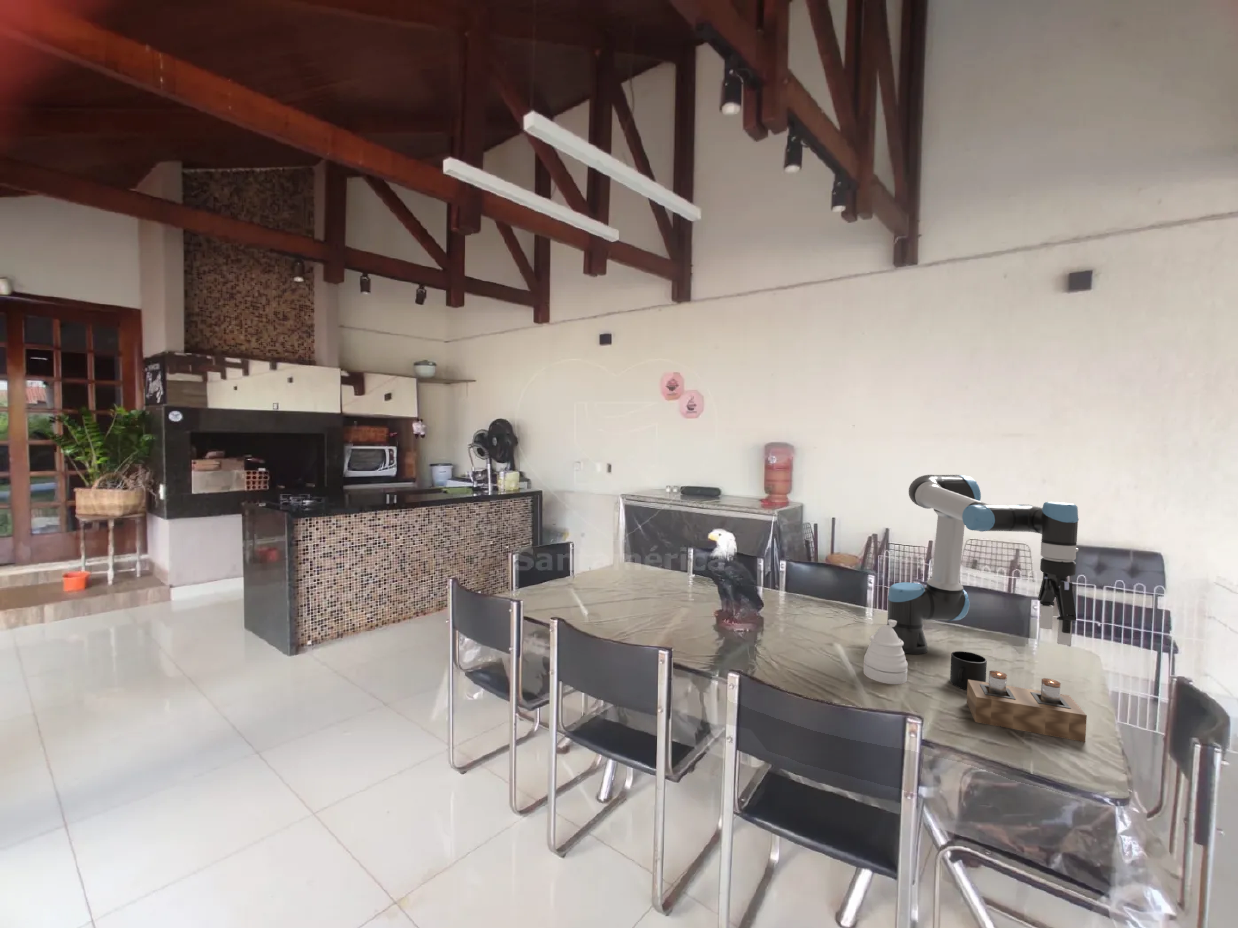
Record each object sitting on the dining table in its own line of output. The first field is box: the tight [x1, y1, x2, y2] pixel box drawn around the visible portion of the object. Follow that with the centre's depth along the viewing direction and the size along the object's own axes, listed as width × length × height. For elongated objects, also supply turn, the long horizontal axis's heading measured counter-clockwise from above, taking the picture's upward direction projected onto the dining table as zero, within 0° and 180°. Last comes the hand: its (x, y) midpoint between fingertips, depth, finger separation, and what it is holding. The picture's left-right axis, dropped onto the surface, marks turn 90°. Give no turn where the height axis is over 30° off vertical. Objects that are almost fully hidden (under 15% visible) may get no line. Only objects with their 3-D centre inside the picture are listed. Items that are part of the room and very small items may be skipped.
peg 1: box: [988, 670, 1008, 696], centre depth 152 cm, size 4×4×7 cm
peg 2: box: [1040, 677, 1062, 705], centre depth 148 cm, size 4×4×7 cm
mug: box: [949, 650, 988, 691], centre depth 172 cm, size 9×12×9 cm
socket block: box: [966, 680, 1088, 743], centre depth 150 cm, size 24×12×7 cm, turn 67°
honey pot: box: [863, 619, 909, 685], centre depth 179 cm, size 13×13×18 cm
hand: (1054, 636), depth 150 cm, fingers open, 13 cm apart
